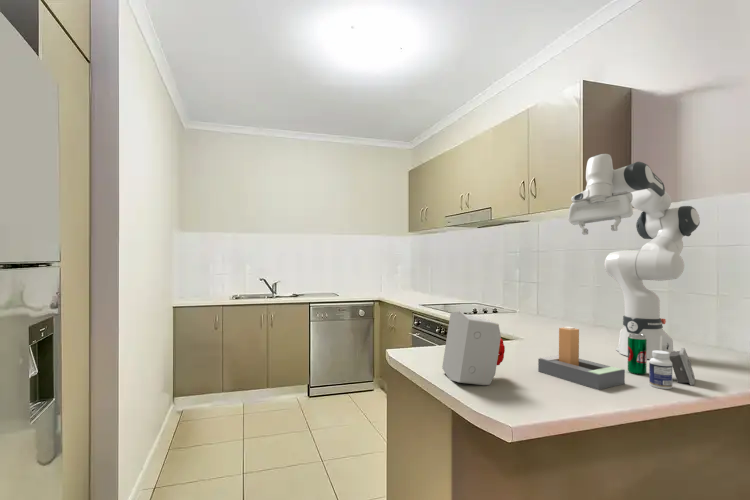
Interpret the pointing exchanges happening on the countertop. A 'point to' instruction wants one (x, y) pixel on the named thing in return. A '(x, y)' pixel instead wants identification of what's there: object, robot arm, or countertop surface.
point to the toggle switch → (583, 372)
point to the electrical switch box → (472, 349)
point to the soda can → (637, 354)
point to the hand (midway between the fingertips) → (599, 232)
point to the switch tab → (569, 345)
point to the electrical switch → (682, 367)
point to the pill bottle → (660, 370)
